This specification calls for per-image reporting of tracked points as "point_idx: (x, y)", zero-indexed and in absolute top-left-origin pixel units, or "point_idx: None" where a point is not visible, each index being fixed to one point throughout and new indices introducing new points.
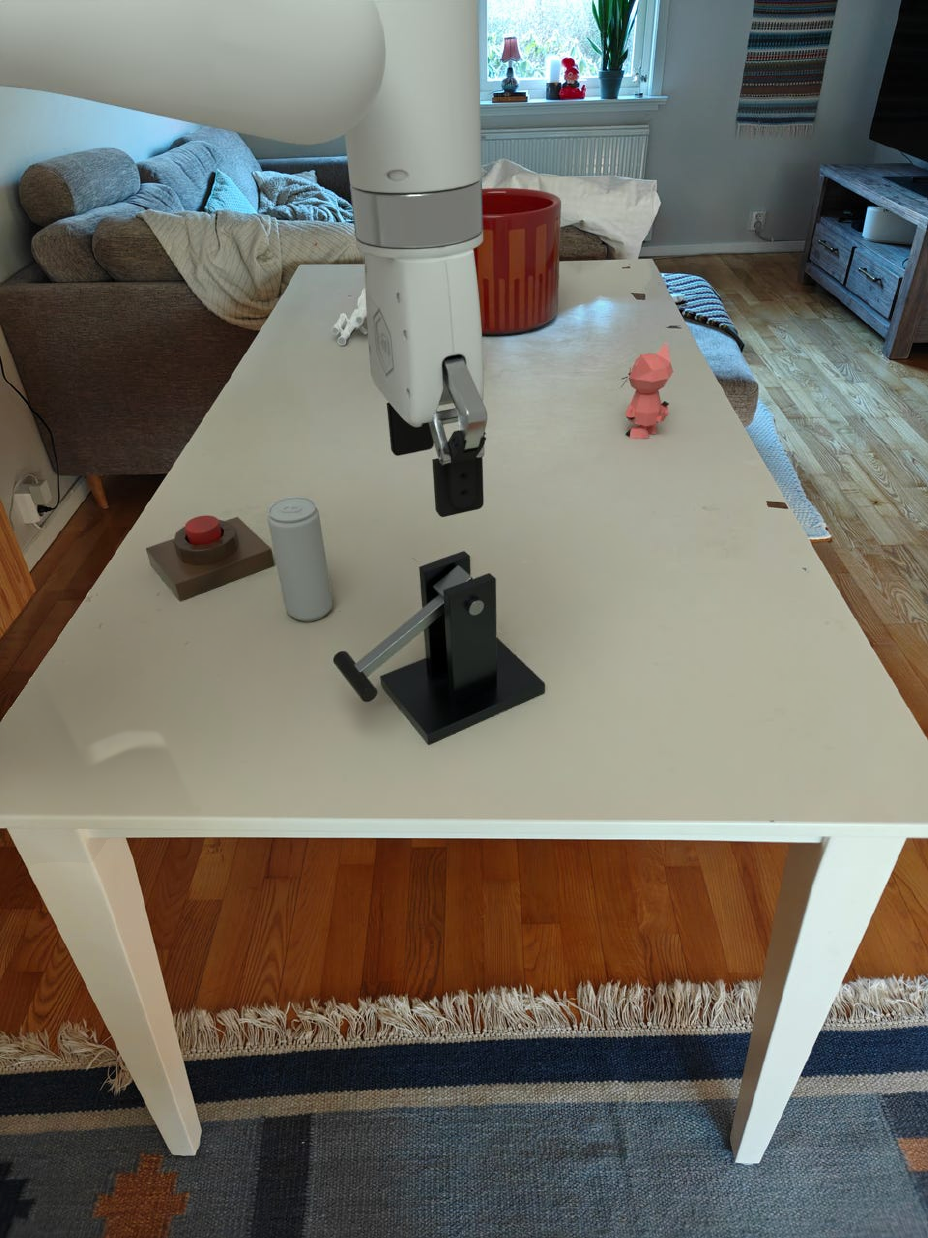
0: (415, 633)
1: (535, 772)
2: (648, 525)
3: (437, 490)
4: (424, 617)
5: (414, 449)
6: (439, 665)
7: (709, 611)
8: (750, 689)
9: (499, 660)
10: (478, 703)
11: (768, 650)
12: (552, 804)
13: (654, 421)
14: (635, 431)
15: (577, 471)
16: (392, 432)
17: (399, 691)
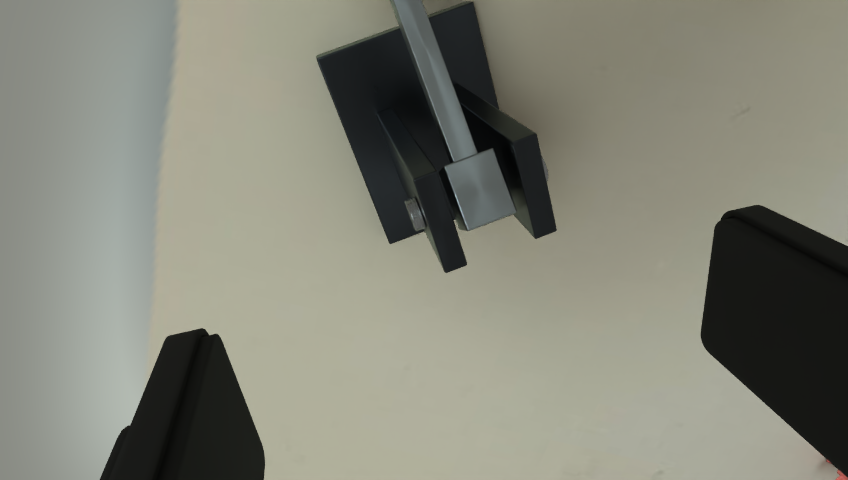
0: (422, 84)
1: (239, 194)
2: (659, 415)
3: (132, 420)
4: (436, 111)
5: (715, 288)
6: None
7: (479, 437)
8: (339, 443)
9: None
10: (370, 148)
11: (397, 472)
12: (177, 203)
13: (841, 473)
14: None
15: None
16: (811, 254)
17: None
